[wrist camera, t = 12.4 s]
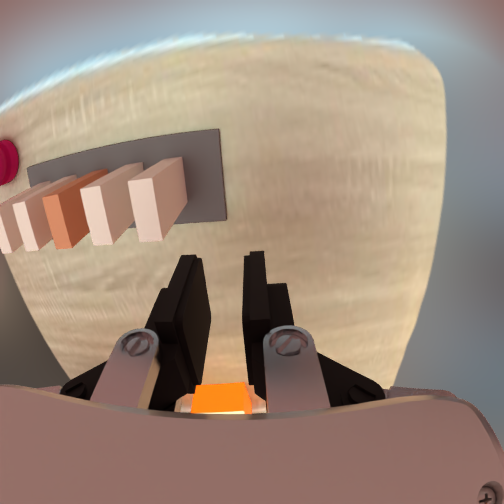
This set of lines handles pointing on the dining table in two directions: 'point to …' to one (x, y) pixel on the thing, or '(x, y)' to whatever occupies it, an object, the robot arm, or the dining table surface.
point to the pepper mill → (8, 161)
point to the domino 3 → (69, 211)
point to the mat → (151, 152)
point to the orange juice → (221, 399)
